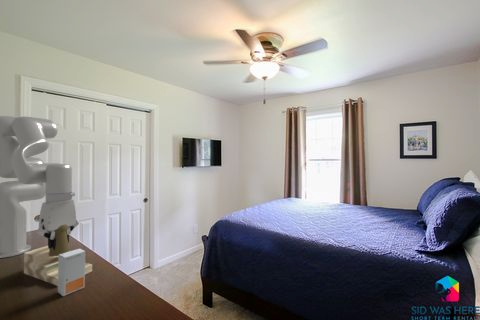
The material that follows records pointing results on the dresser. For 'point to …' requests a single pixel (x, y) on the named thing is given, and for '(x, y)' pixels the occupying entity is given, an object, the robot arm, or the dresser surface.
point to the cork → (60, 241)
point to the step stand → (44, 265)
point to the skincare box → (71, 271)
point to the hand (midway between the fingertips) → (58, 246)
